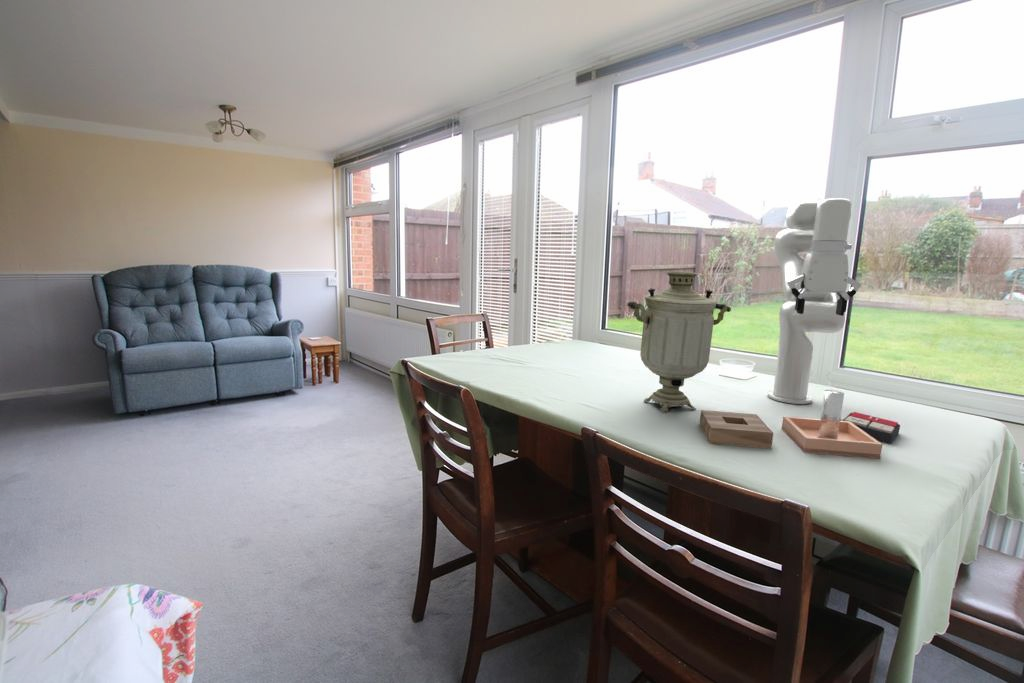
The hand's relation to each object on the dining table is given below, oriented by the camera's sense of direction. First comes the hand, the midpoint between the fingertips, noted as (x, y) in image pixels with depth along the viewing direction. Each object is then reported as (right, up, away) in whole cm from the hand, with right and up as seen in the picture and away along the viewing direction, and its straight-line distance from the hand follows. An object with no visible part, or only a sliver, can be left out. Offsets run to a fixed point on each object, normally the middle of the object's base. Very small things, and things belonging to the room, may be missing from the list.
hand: (819, 314), depth 132 cm
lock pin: (-3, -31, -9) cm, 33 cm away
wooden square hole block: (-25, -31, -5) cm, 40 cm away
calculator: (+11, -32, 0) cm, 34 cm away
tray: (-3, -32, -9) cm, 34 cm away
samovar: (-33, -26, +21) cm, 47 cm away
